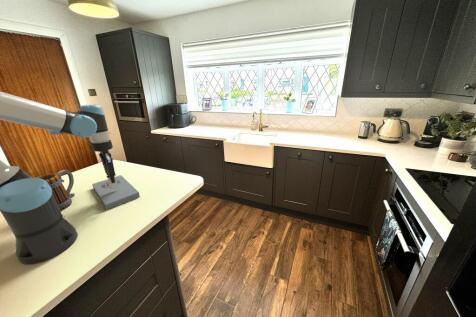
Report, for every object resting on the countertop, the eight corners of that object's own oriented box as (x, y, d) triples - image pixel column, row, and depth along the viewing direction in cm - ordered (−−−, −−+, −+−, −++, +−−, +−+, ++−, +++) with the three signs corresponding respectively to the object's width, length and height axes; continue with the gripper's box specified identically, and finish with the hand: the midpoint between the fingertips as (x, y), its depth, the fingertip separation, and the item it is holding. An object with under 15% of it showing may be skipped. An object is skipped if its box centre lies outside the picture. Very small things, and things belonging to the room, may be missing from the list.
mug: (55, 215, 83) (40, 184, 78) (35, 213, 85) (20, 182, 80) (87, 195, 98) (77, 168, 92) (70, 194, 100) (59, 167, 94)
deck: (140, 196, 95) (138, 192, 94) (106, 209, 86) (105, 204, 85) (122, 178, 114) (121, 175, 113) (93, 188, 105) (91, 184, 104)
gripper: (114, 141, 85) (127, 189, 93) (106, 136, 94) (118, 181, 102) (94, 145, 80) (109, 195, 88) (87, 140, 89) (102, 186, 97)
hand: (114, 187), depth 95 cm, fingers closed
